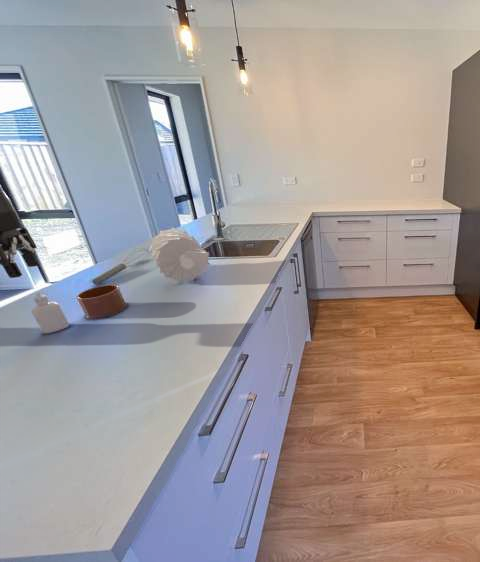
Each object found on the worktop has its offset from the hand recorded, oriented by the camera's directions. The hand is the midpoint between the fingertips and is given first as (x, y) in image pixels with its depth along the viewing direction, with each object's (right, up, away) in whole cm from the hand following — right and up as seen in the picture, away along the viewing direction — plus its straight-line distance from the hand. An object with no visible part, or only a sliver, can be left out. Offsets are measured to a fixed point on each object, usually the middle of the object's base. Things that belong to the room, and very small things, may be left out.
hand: (25, 271), depth 81 cm
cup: (+6, -12, +17) cm, 22 cm away
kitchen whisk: (-14, +2, +50) cm, 52 cm away
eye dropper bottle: (0, -17, +8) cm, 19 cm away
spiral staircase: (+15, 0, +45) cm, 47 cm away
